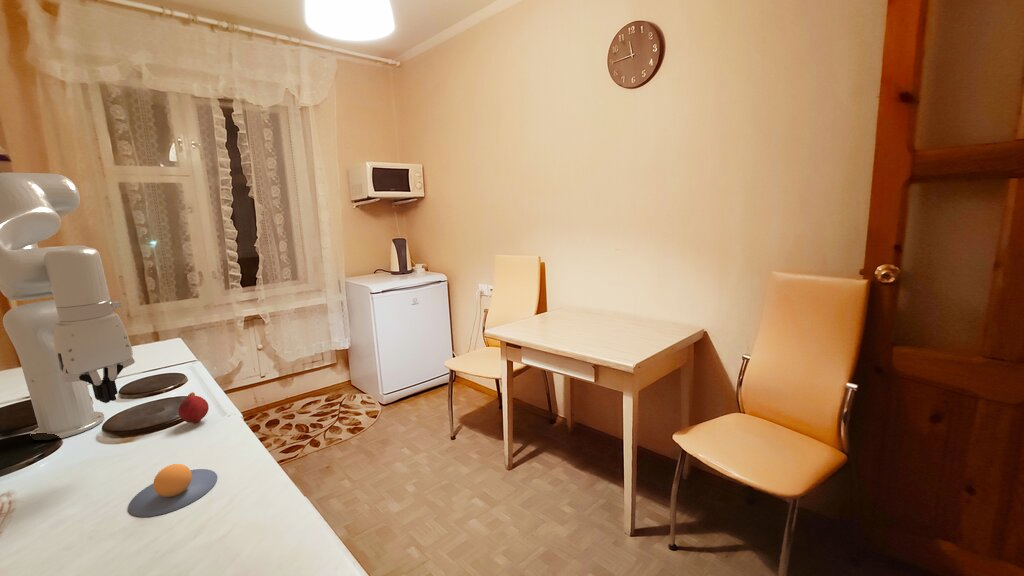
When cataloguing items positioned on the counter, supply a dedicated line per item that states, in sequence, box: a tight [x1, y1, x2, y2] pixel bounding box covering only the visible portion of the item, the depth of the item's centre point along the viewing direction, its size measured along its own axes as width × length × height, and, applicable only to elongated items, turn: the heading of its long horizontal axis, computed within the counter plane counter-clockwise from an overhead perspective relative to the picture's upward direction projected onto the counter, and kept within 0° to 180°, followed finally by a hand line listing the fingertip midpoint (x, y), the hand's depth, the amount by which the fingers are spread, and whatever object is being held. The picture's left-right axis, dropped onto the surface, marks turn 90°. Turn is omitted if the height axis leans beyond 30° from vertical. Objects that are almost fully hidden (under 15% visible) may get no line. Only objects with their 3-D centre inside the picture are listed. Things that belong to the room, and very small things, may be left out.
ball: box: [152, 463, 192, 497], centre depth 78 cm, size 6×6×6 cm
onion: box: [177, 391, 210, 425], centre depth 104 cm, size 6×6×8 cm
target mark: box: [128, 468, 218, 518], centre depth 79 cm, size 13×13×1 cm
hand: (107, 400), depth 86 cm, fingers closed
